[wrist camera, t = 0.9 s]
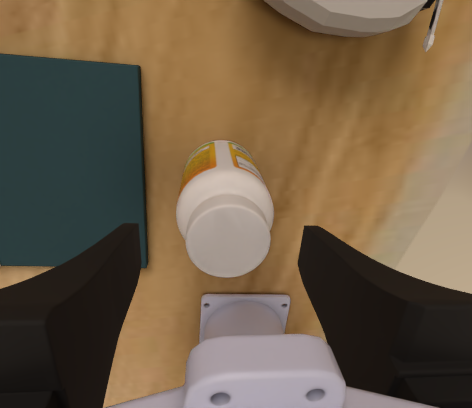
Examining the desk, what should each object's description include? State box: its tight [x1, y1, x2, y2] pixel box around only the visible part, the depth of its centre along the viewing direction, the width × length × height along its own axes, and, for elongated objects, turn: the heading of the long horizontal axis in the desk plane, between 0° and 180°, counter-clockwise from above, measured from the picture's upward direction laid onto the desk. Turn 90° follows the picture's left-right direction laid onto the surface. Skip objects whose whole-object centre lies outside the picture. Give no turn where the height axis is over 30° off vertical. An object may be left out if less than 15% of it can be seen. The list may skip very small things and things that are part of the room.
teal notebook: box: [0, 54, 148, 268], centre depth 22 cm, size 15×13×1 cm
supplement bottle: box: [176, 140, 274, 278], centre depth 19 cm, size 5×5×10 cm
